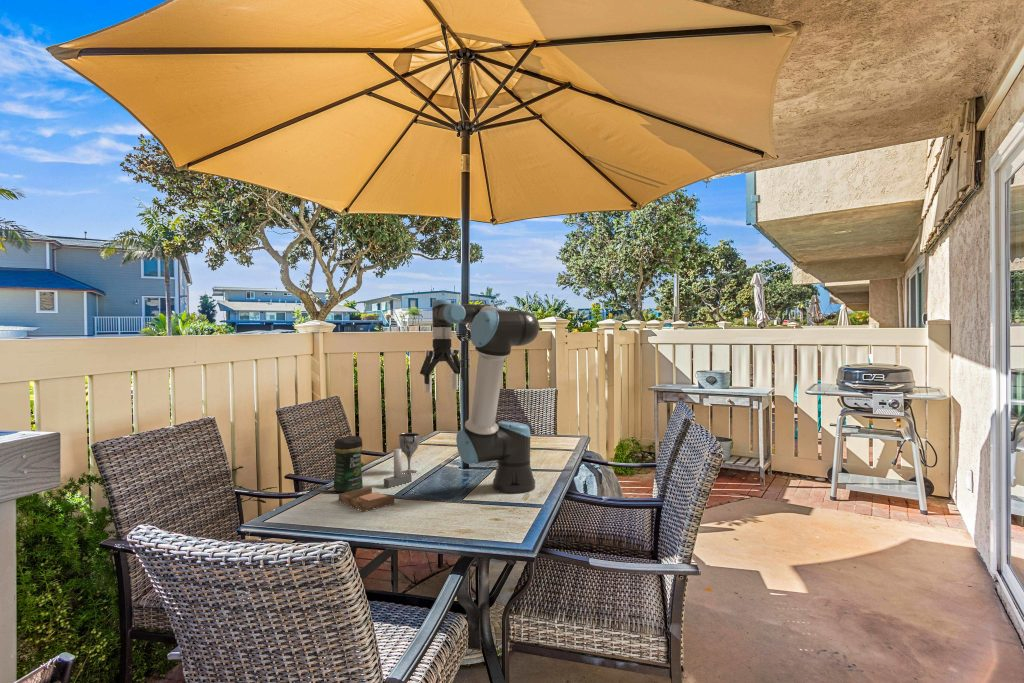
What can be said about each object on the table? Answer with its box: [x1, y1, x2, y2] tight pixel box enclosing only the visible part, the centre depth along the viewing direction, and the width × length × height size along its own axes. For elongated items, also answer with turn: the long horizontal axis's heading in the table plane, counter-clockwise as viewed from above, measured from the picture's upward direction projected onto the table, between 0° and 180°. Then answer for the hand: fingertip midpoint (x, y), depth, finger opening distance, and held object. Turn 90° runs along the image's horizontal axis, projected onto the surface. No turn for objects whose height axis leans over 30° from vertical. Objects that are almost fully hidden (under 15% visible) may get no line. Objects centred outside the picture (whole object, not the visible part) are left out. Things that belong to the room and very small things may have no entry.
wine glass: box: [398, 432, 420, 474], centre depth 216 cm, size 8×8×15 cm
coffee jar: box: [333, 435, 364, 493], centre depth 194 cm, size 10×8×19 cm
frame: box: [338, 486, 395, 512], centre depth 179 cm, size 15×12×2 cm
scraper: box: [383, 448, 413, 489], centre depth 199 cm, size 10×3×13 cm, turn 138°
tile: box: [357, 491, 388, 502], centre depth 180 cm, size 7×7×2 cm
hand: (442, 391), depth 220 cm, fingers open, 13 cm apart
